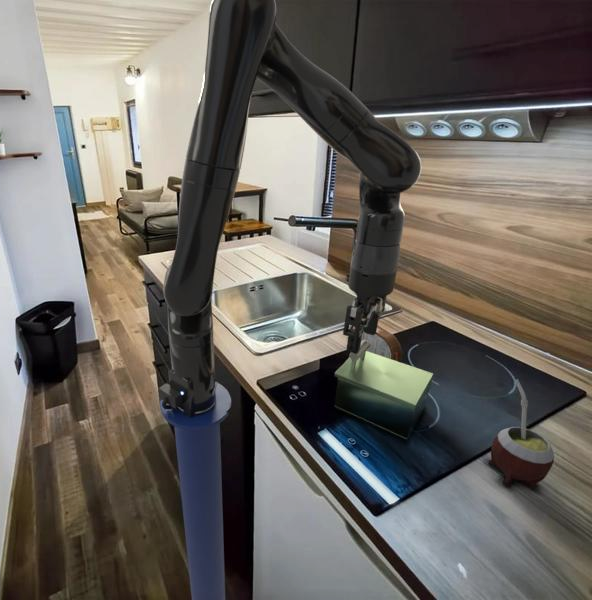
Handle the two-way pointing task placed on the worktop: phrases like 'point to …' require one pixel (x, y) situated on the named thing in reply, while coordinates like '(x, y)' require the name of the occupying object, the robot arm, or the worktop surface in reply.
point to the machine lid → (385, 376)
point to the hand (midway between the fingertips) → (361, 342)
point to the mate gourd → (521, 452)
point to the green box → (378, 409)
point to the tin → (383, 344)
